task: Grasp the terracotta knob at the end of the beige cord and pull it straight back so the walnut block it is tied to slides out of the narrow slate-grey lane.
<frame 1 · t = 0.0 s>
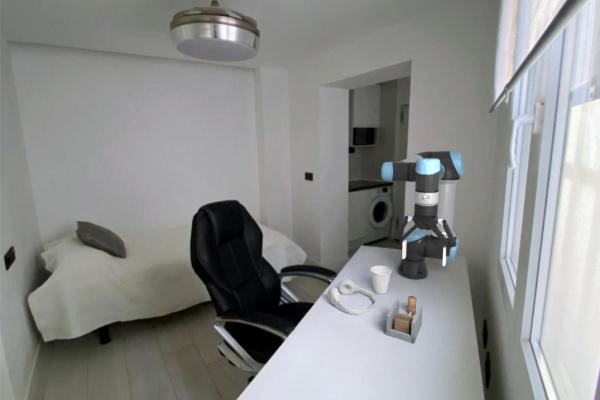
hand: (423, 261, 108), 28 cm above the table, fingers open, 13 cm apart
cup: (380, 291, 143), on the table
lane: (404, 329, 114), on the table
headphones: (351, 303, 135), on the table
tethered block: (403, 332, 113), on the table
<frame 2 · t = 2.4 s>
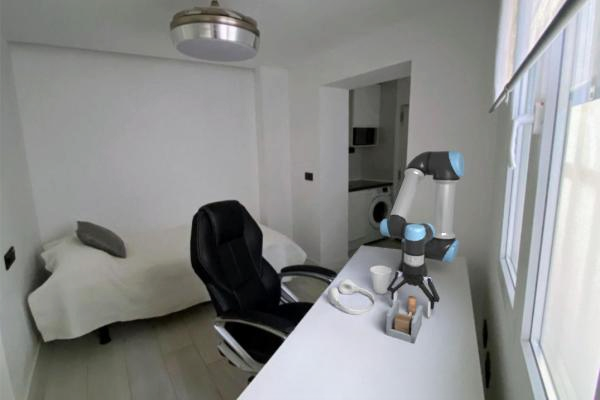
hand: (411, 311, 124), 1 cm above the table, fingers open, 13 cm apart
nothing on the table moved.
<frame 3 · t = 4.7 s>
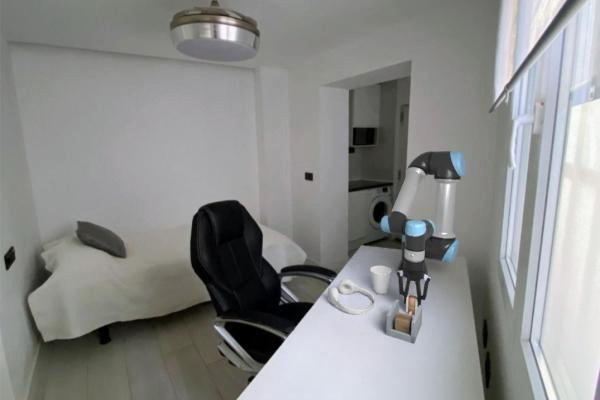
hand: (411, 312, 125), 0 cm above the table, fingers closed on tethered block, 3 cm apart
tethered block: (403, 331, 113), on the table, touching gripper
everything else where it was.
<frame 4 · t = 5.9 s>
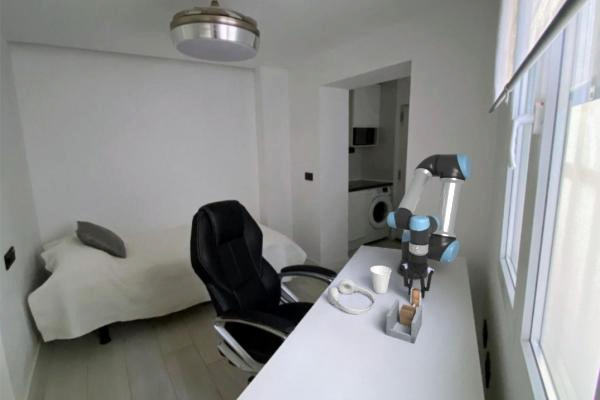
hand: (416, 303, 131), 0 cm above the table, fingers closed on tethered block, 3 cm apart
tethered block: (407, 322, 119), on the table, touching gripper
everything else where it was.
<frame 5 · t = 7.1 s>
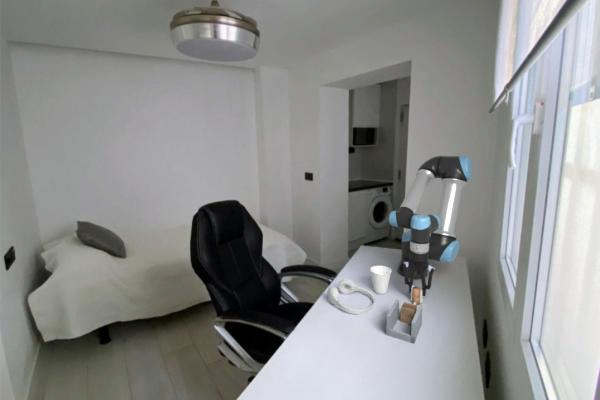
hand: (416, 300, 133), 0 cm above the table, fingers closed on tethered block, 3 cm apart
tethered block: (408, 320, 120), on the table, touching gripper
everything else where it was.
when the fingers open (0 cm above the table, at t = 7.3 s): tethered block stays where it is, on the table.
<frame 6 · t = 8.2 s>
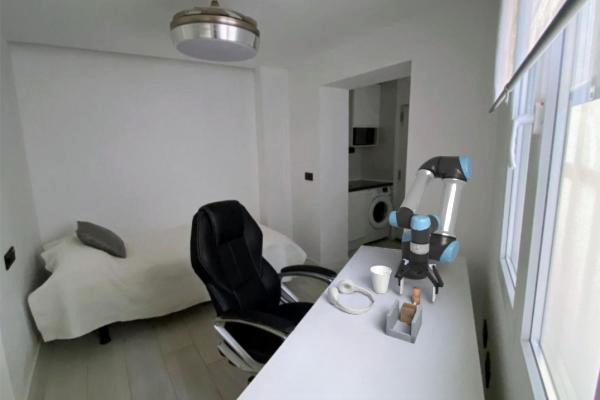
hand: (417, 296, 133), 2 cm above the table, fingers open, 13 cm apart
tethered block: (408, 320, 120), on the table
everything else where it was.
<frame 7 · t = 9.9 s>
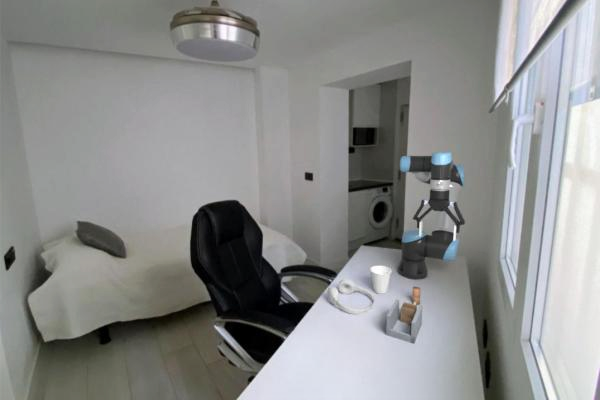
hand: (437, 237, 130), 29 cm above the table, fingers open, 13 cm apart
nothing on the table moved.
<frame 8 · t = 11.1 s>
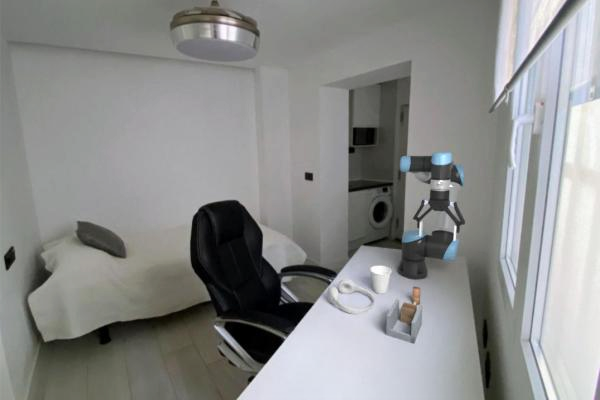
hand: (437, 237, 130), 29 cm above the table, fingers open, 13 cm apart
nothing on the table moved.
at the end: tethered block inside the target area (4.3 cm from its centre), on the table; tethered block moved 9.0 cm from its start; the gripper is holding nothing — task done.
